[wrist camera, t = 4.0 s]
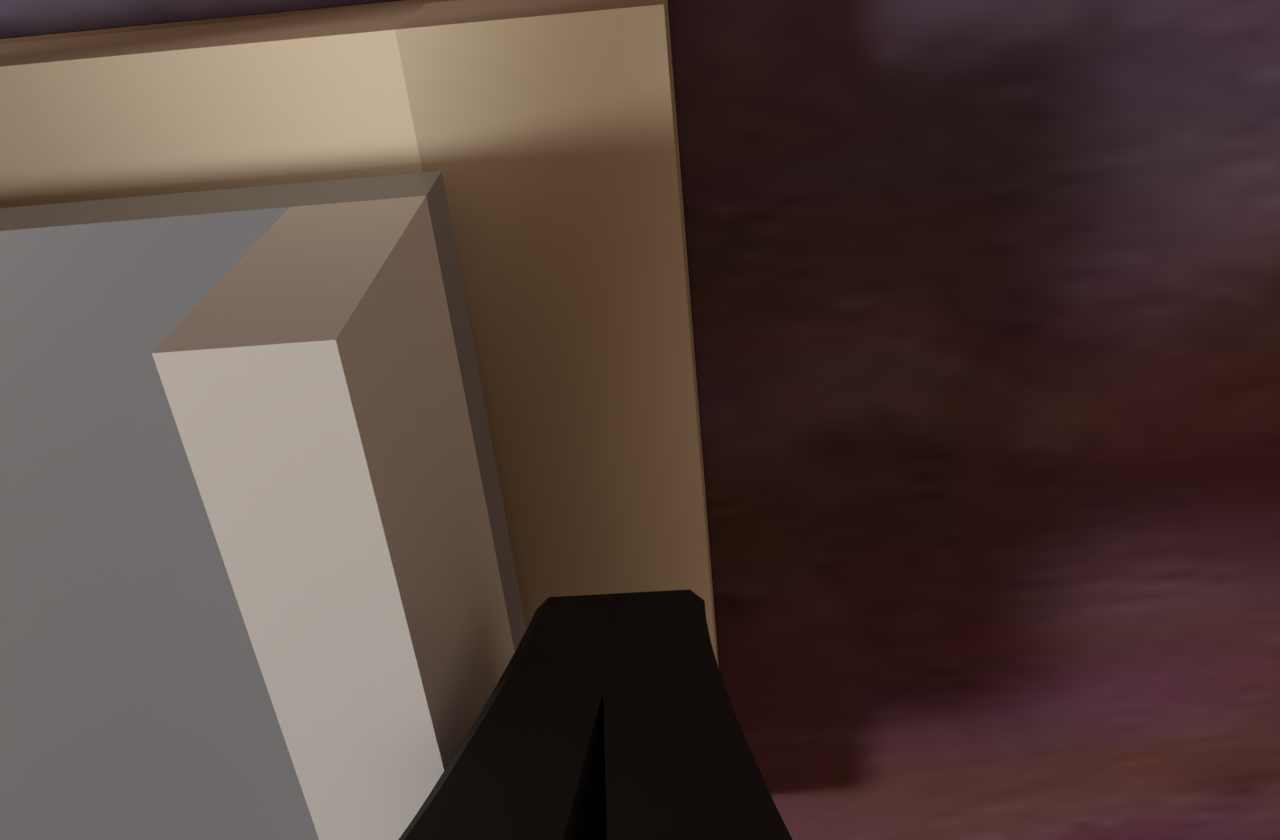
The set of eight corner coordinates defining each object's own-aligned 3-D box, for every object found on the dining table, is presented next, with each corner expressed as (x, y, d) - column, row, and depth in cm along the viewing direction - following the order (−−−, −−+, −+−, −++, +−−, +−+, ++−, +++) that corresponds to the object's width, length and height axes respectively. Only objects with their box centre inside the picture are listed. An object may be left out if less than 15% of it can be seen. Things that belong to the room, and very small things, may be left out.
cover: (441, 171, 8) (336, 339, 6) (570, 873, 12) (543, 1164, 10) (-413, 242, 9) (-864, 428, 6) (-27, 896, 13) (-209, 1179, 10)
